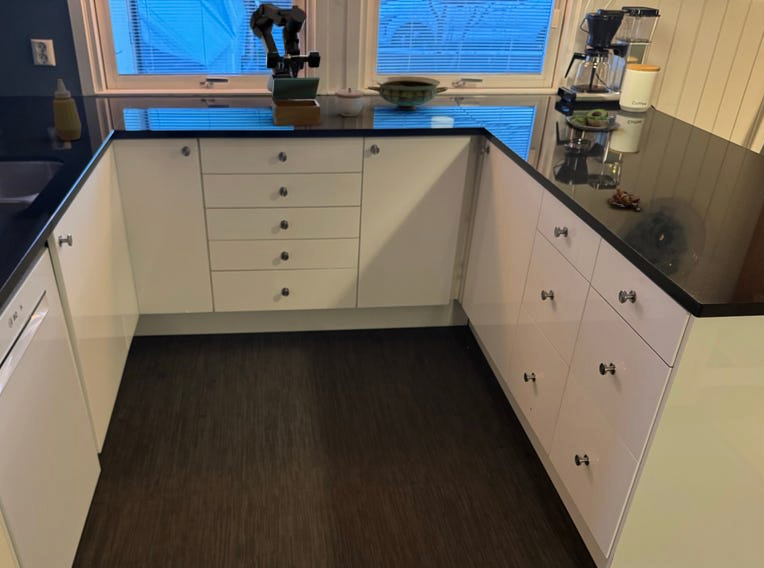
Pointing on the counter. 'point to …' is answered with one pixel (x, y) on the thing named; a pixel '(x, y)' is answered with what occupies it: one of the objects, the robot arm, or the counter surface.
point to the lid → (295, 88)
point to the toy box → (295, 112)
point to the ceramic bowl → (408, 90)
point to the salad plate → (593, 121)
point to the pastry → (624, 199)
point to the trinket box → (349, 101)
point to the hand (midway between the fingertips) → (295, 81)
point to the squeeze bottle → (66, 114)
